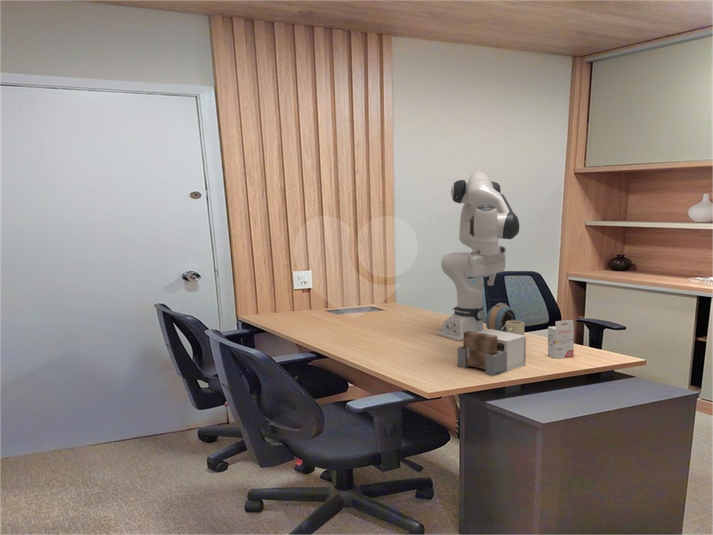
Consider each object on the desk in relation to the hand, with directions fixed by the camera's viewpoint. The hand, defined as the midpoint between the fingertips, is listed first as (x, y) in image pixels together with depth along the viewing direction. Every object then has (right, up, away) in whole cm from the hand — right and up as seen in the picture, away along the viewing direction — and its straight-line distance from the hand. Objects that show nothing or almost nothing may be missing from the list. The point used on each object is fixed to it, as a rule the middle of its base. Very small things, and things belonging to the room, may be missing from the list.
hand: (485, 286), depth 190 cm
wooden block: (-3, -29, -5) cm, 30 cm away
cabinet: (+2, -29, -1) cm, 30 cm away
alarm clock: (+15, -26, +32) cm, 44 cm away
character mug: (+15, -28, +14) cm, 35 cm away
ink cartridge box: (+32, -28, +10) cm, 44 cm away
